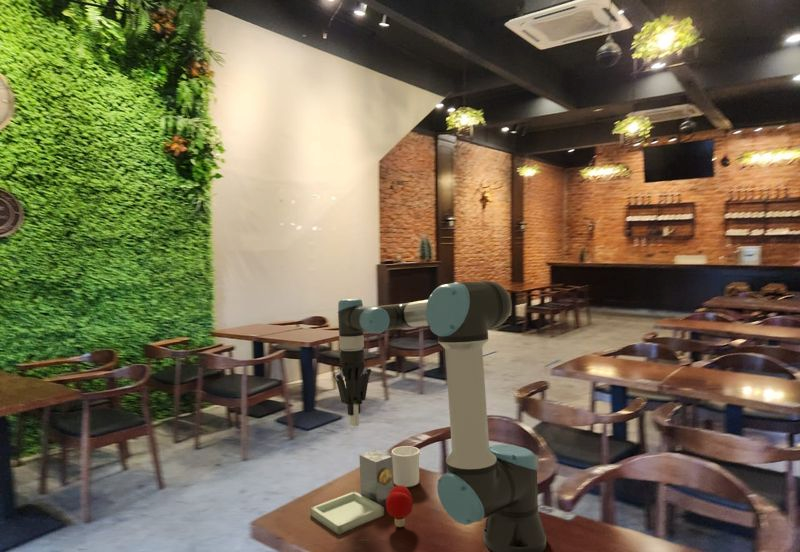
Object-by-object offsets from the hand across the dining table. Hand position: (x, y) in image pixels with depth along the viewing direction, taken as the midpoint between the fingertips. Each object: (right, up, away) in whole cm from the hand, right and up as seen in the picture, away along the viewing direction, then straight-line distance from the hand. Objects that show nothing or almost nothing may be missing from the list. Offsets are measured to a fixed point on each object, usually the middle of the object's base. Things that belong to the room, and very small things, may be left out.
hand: (354, 424), depth 159 cm
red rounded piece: (+14, -21, -23) cm, 34 cm away
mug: (+16, -20, +5) cm, 26 cm away
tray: (-1, -21, -16) cm, 26 cm away
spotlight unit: (+7, -20, -7) cm, 22 cm away
